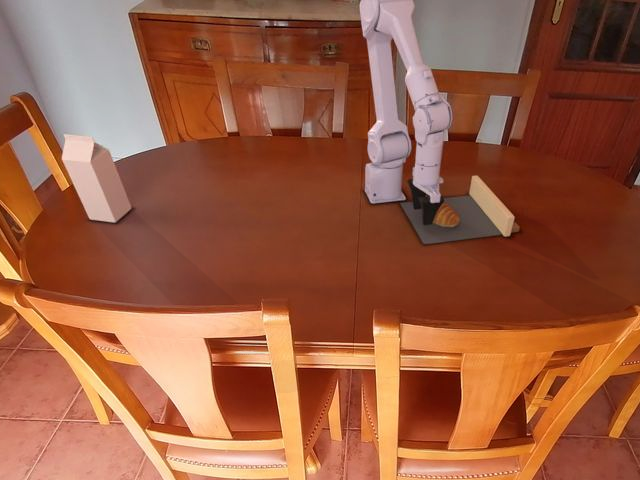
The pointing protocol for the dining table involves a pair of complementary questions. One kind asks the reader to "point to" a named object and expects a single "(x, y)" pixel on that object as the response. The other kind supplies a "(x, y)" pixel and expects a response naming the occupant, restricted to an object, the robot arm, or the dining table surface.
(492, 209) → the back board
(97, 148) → the milk carton
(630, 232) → the dining table surface
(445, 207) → the pastry
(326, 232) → the dining table surface
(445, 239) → the placemat
